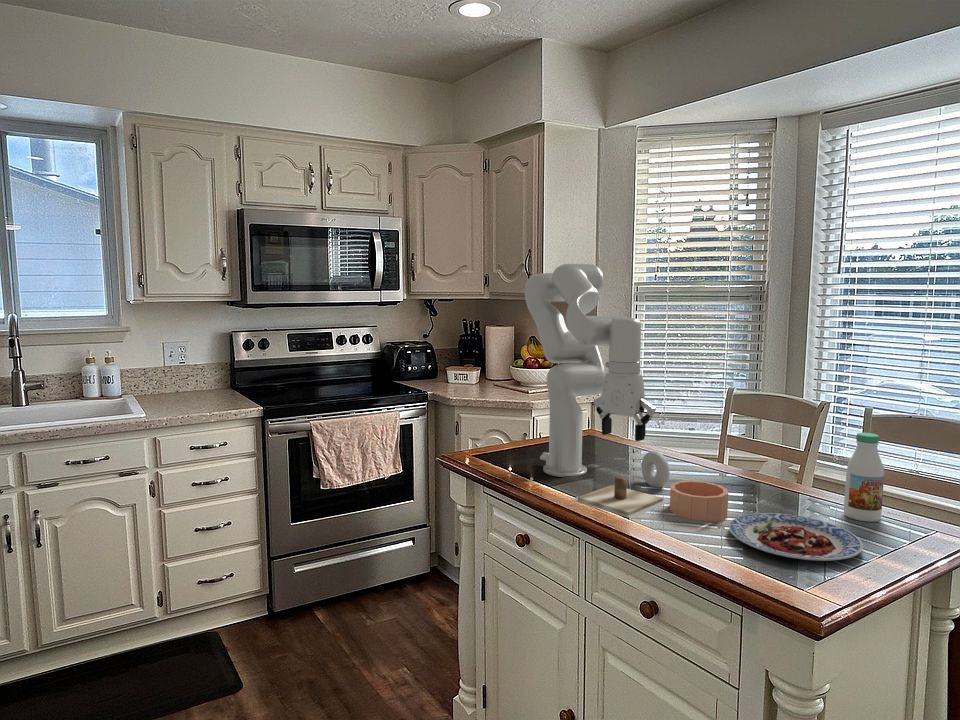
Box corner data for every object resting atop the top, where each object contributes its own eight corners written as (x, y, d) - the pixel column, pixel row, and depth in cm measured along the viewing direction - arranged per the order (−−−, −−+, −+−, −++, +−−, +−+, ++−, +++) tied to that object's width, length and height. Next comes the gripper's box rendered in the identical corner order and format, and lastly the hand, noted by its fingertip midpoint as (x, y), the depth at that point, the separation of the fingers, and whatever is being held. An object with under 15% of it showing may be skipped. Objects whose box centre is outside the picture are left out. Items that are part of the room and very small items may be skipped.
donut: (671, 492, 175) (673, 455, 174) (661, 493, 174) (662, 456, 173) (648, 481, 185) (649, 446, 183) (637, 483, 183) (639, 447, 182)
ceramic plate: (893, 561, 133) (894, 546, 133) (786, 577, 126) (787, 562, 125) (797, 517, 158) (798, 505, 157) (704, 528, 150) (704, 515, 150)
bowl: (659, 512, 160) (660, 488, 159) (686, 500, 169) (687, 477, 168) (710, 527, 150) (711, 501, 150) (736, 513, 159) (737, 489, 159)
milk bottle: (835, 513, 159) (841, 432, 157) (858, 509, 162) (864, 429, 160) (865, 524, 152) (872, 439, 150) (888, 520, 155) (895, 436, 153)
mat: (570, 502, 167) (570, 499, 167) (610, 487, 179) (610, 485, 179) (631, 520, 154) (631, 518, 154) (670, 503, 166) (670, 501, 166)
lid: (577, 500, 167) (578, 477, 166) (612, 487, 177) (613, 466, 176) (628, 515, 156) (629, 491, 155) (662, 501, 166) (663, 478, 166)
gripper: (586, 366, 166) (585, 434, 168) (646, 372, 154) (644, 445, 155) (604, 364, 171) (603, 429, 173) (663, 370, 159) (662, 440, 161)
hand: (622, 437), depth 164 cm, fingers open, 9 cm apart
